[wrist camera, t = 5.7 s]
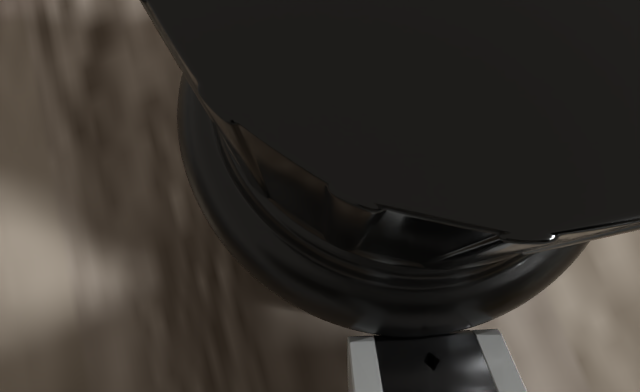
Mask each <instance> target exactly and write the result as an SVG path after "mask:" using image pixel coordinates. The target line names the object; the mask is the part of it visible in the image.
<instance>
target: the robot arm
mask: <svg viewBox="0 0 640 392" xmlns="http://www.w3.org/2000/svg"><path fill="white" fill-rule="evenodd" d="M347 372H348V392H527V389H526V387H525V385H524V383H523V380H522V378H521V376H520V374H519V371H518V369H517V367H516V365H515V362H514V360H513V358H512V356H511V353H510V351H509V349H508V347H507V344H506V342H505V340H504V338H503V335H502V333H501V332H500V331H499V330H498V329H487V330H472V331H470V330H462V331H456V332H451V333H446V334H440V335H433V336H421V337H397V336H385V335H374V336H353V337H348V339H347Z"/></svg>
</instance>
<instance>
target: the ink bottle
mask: <svg viewBox="0 0 640 392" xmlns="http://www.w3.org/2000/svg"><path fill="white" fill-rule="evenodd" d="M140 2H141V4H142V5H143V7H144V9H145V10H146V12H147V14H148V15H149V17H150V19H151V20H152V22H153V24H154V25H155V27H156V29H157V31H158V32H159V34H160V36H161V37H162V39H163V41H164V42H165V44H166V46H167V47H168V49H169V51H170V52H171V54H172V56H173V57H174V59H175V61H176V62H177V64H178V66H179V68H180V69H181V71H182V77H181V83H180V88H179V96H178V109H177V122H178V136H179V144H180V150H181V155H182V160H183V164H184V167H185V171H186V174H187V177H188V180H189V183H190V186H191V188H192V191H193V193H194V196H195V198H196V200H197V202H198V204H199V206H200V208H201V210H202V212H203V214H204V216H205V218H206V219H207V221H208V223H209V224H210V226H211V227H212V229H213V230H214V232H215V234H216V235H217V236H218V238H219V239H220V240H221V242H222V243H223V244H224V246H225V247H226V248H227V249H228V251H229V252H230V253H231V254H232V255H233V257H234V258H235V259H236V260H237V261H238V262H239V263H240V264H241V265H242V266H243V267H244V268H245V269H246V270H247V271H248V272H249V273H250V274H251V275H252V276H253V277H254V278H256V279H257V280H258V281H259V282H260V283H262V284H263V285H264V286H265V287H267V288H268V289H269V290H271V291H272V292H273V293H275V294H276V295H278V296H279V297H281V298H282V299H284V300H285V301H287V302H289V303H290V304H292V305H294V306H296V307H297V308H299V309H301V310H303V311H305V312H307V313H309V314H311V315H313V316H315V317H318V318H320V319H322V320H325V321H328V322H330V323H333V324H336V325H339V326H342V327H345V328H349V329H352V330H356V331H361V332H365V333H371V334H377V335H385V336H397V337H421V336H433V335H440V334H446V333H451V332H456V331H460V330H464V329H467V328H471V327H474V326H477V325H480V324H483V323H485V322H488V321H490V320H493V319H495V318H497V317H499V316H502V315H504V314H506V313H508V312H510V311H511V310H513V309H515V308H517V307H519V306H520V305H522V304H524V303H525V302H527V301H528V300H530V299H531V298H533V297H534V296H536V295H537V294H538V293H540V292H541V291H542V290H544V289H545V288H546V287H548V286H549V285H550V284H551V283H552V282H554V281H555V280H556V279H557V278H558V277H559V276H560V275H561V274H562V273H563V272H564V271H565V270H566V269H567V268H568V267H569V266H570V265H571V264H572V263H573V262H574V261H575V260H576V258H577V257H578V256H579V255H580V254H581V252H582V251H583V250H584V249H585V247H586V246H587V245H588V243H589V242H590V241H592V240H596V239H601V238H605V237H610V236H614V235H618V234H623V233H627V232H632V231H636V230H640V0H140Z"/></svg>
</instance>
